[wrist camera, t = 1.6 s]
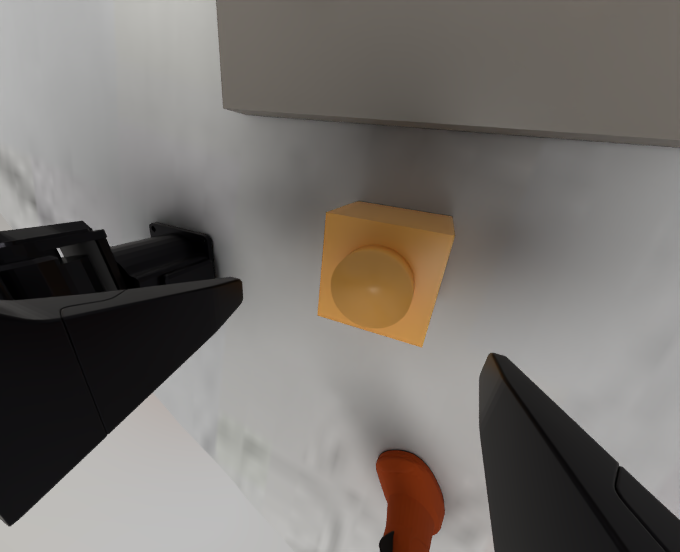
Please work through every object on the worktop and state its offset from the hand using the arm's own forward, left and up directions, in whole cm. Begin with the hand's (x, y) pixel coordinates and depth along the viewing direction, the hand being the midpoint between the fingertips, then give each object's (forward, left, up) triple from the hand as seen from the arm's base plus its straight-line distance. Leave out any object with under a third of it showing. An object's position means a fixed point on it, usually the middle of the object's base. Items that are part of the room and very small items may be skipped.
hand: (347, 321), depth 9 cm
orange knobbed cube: (0, 0, -9) cm, 9 cm away
